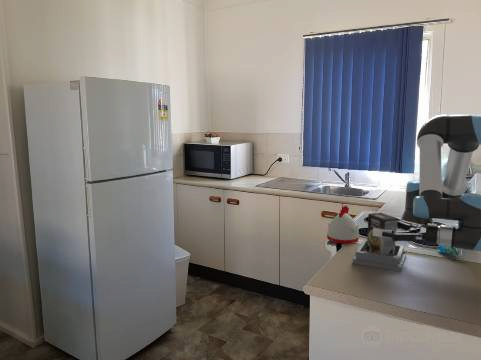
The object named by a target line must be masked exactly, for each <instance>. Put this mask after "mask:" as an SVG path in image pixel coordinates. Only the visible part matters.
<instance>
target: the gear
mask: <svg viewBox="0 0 481 360" xmlns="http://www.w3.org/2000/svg"><path fill="white" fill-rule="evenodd" d="M437 249H438V250H440V251H439V252H438V253H439V254H441V253H442V254H447V252H449V254H451V255H453V256H454V257H455V258H457V259H458V258H459V256H458V255H457V254H456V253H458V254H459V251H457V248H454V247H448V248H445V246H439V245H438V246H437Z"/></svg>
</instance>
